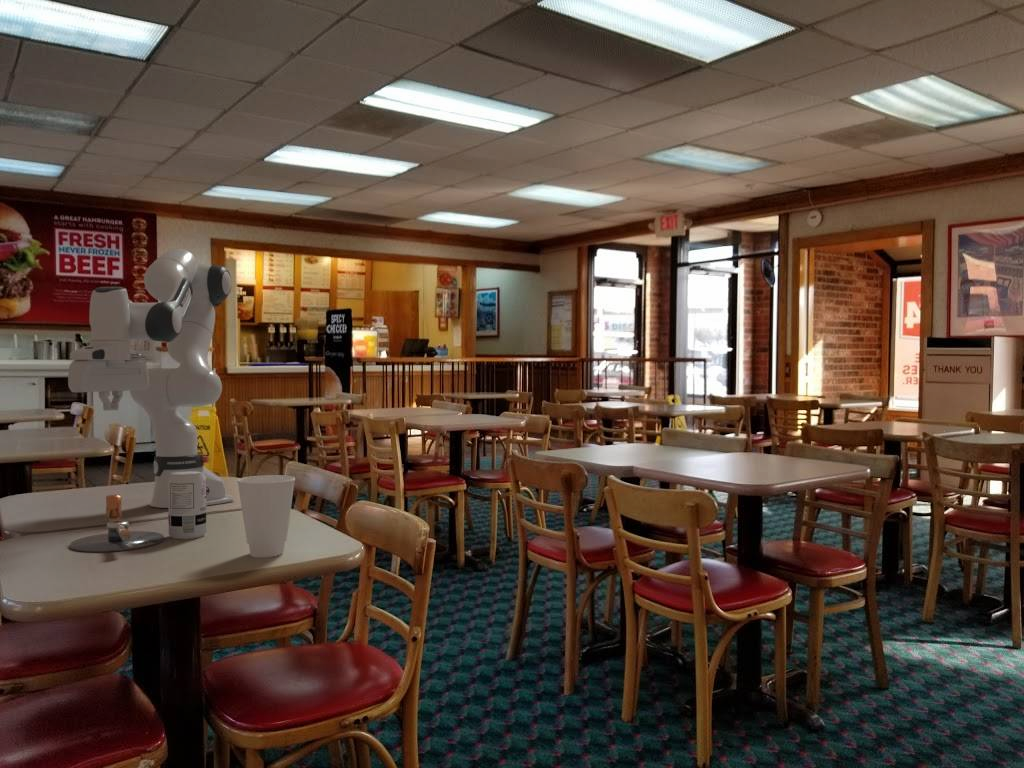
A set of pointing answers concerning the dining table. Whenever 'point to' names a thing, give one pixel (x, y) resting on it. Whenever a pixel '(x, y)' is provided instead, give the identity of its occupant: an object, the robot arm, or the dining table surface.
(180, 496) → the supplement can
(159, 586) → the dining table surface
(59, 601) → the dining table surface
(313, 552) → the dining table surface
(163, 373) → the robot arm
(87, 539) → the dial plate
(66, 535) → the dining table surface
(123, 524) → the crank
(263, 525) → the cup
